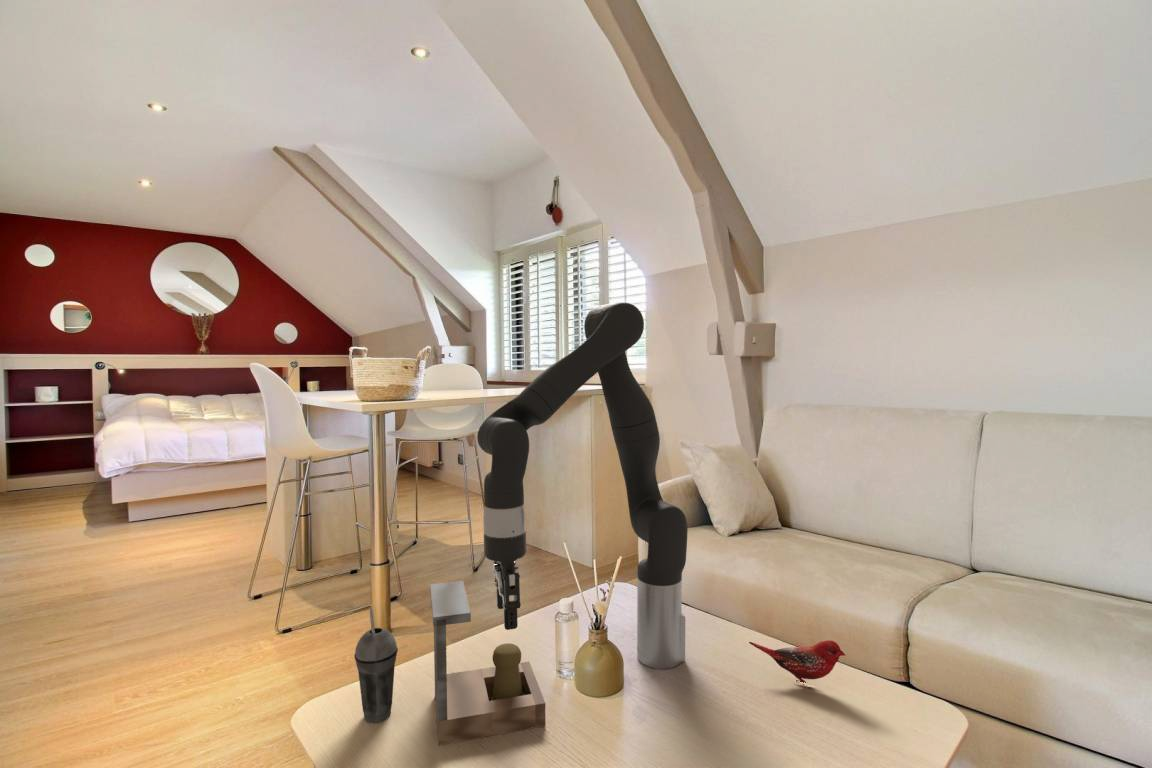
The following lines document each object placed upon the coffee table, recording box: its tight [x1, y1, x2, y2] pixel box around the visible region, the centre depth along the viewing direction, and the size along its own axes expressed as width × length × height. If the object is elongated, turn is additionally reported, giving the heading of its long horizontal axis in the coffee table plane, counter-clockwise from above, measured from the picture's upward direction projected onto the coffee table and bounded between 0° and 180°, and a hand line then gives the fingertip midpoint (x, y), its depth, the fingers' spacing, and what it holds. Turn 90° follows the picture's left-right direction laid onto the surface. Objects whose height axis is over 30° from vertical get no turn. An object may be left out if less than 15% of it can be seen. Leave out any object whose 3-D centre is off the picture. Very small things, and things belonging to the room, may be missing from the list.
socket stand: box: [429, 580, 546, 746], centre depth 103 cm, size 18×14×22 cm
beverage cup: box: [353, 607, 399, 724], centre depth 102 cm, size 7×7×20 cm
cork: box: [491, 642, 524, 701], centre depth 105 cm, size 6×6×11 cm
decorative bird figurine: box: [748, 639, 847, 683], centre depth 112 cm, size 3×18×10 cm, turn 62°
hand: (506, 617), depth 104 cm, fingers open, 8 cm apart
